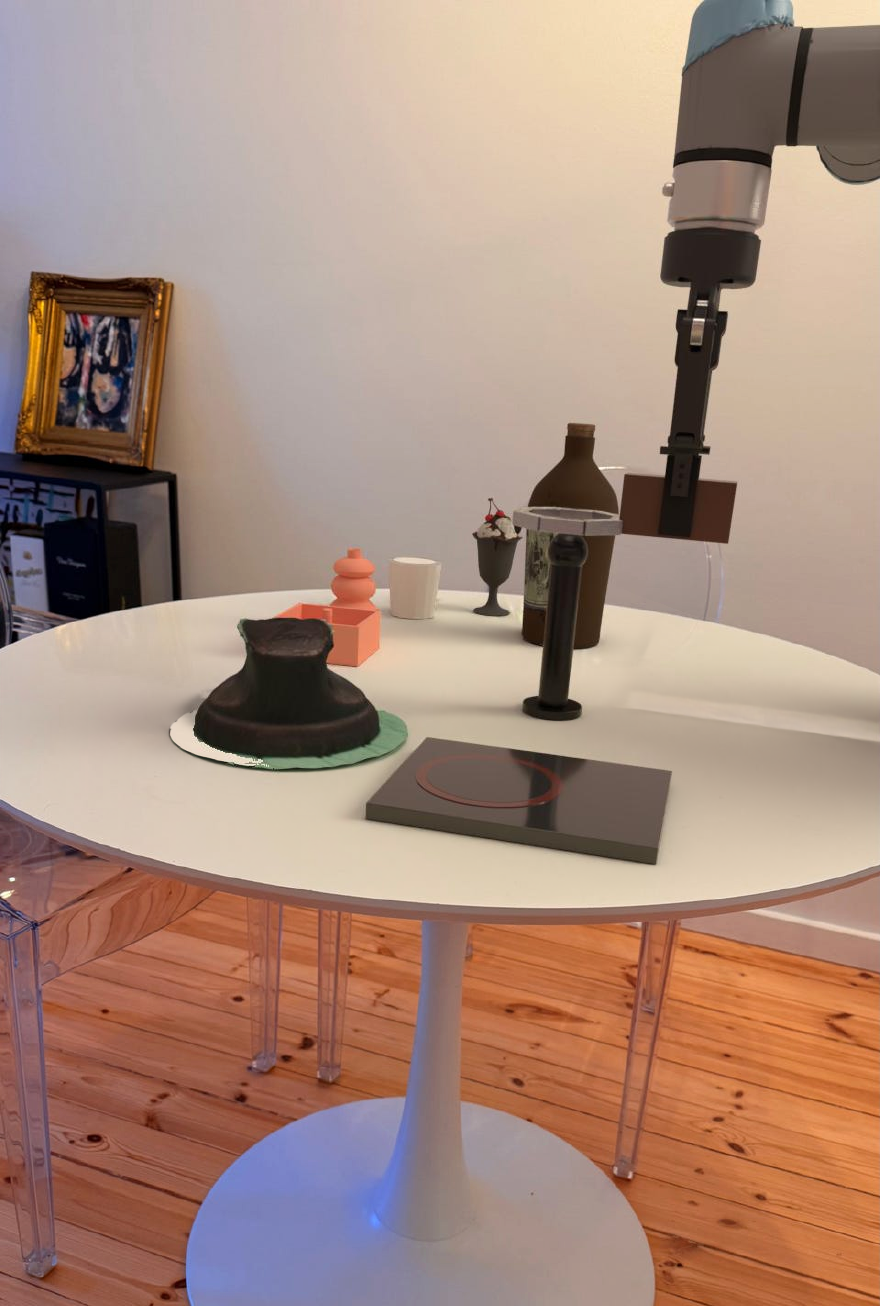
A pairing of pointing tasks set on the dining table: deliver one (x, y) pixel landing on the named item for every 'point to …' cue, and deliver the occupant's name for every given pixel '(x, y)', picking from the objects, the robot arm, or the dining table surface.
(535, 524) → the ring with block handle
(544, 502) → the olive oil
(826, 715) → the dining table surface
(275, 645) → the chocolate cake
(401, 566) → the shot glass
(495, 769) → the stove
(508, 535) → the sundae
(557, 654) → the black knobbed post
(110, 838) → the dining table surface
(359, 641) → the pottery
